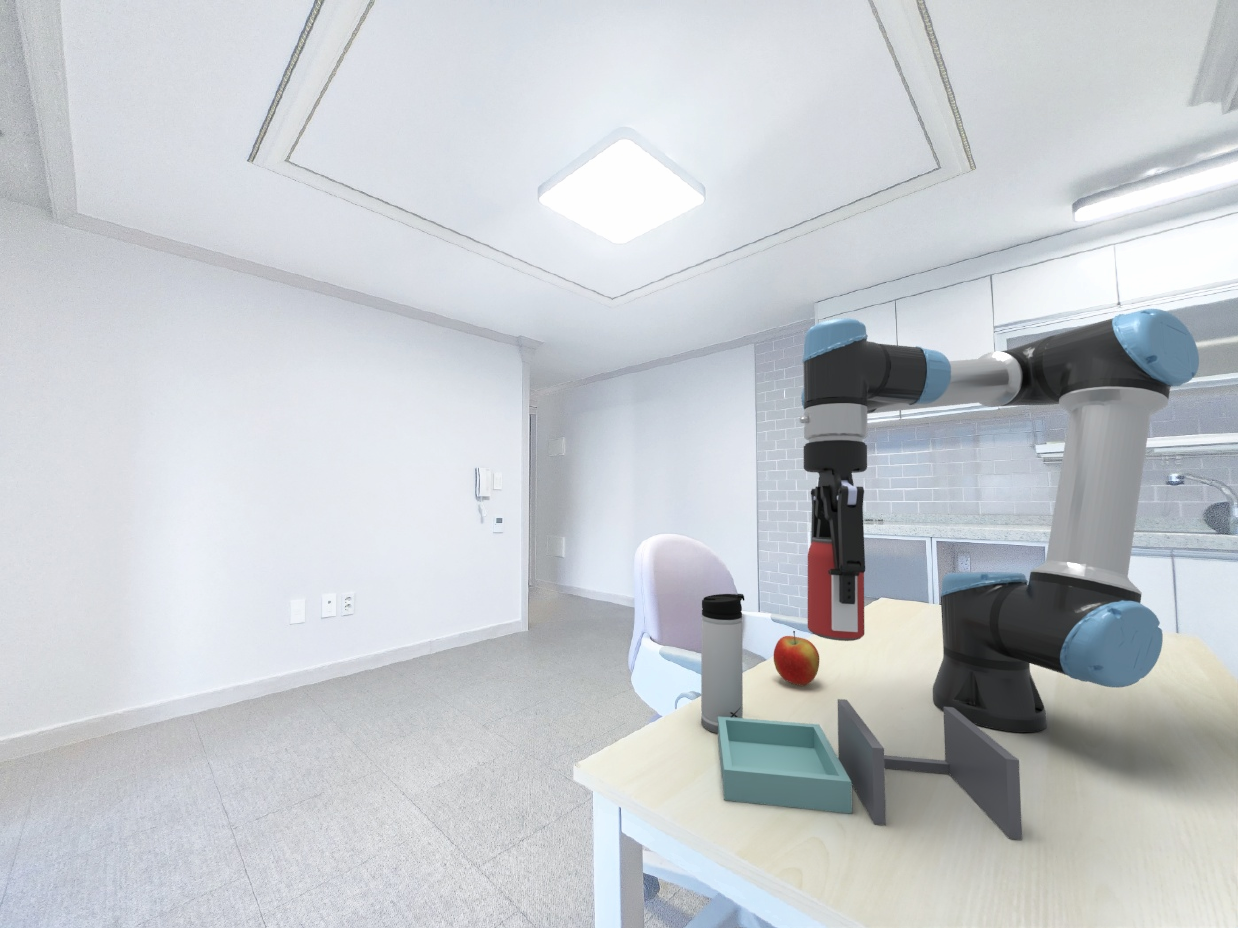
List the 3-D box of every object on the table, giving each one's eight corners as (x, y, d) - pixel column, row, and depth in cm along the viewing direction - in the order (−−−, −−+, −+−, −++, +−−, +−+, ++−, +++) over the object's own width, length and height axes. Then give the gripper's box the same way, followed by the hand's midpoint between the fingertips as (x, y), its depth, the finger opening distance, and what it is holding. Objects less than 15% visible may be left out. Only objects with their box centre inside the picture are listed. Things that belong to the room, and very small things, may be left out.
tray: (819, 749, 68) (819, 724, 68) (851, 813, 54) (851, 781, 55) (717, 740, 70) (718, 716, 70) (724, 799, 56) (724, 769, 57)
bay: (955, 770, 63) (953, 707, 64) (1022, 839, 50) (1018, 759, 51) (838, 760, 65) (837, 698, 66) (874, 824, 53) (872, 747, 53)
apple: (827, 684, 92) (827, 631, 93) (805, 695, 87) (805, 638, 87) (789, 672, 98) (788, 622, 99) (766, 682, 93) (765, 628, 94)
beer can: (798, 627, 64) (798, 536, 65) (845, 627, 65) (844, 537, 66) (824, 642, 58) (823, 540, 58) (876, 642, 58) (875, 541, 59)
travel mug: (746, 737, 71) (745, 599, 73) (700, 732, 73) (700, 596, 74) (743, 718, 77) (743, 591, 79) (701, 714, 79) (702, 589, 80)
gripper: (788, 449, 73) (787, 604, 71) (826, 430, 54) (826, 643, 52) (840, 449, 72) (841, 607, 70) (898, 431, 53) (901, 648, 51)
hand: (835, 622), depth 61 cm, fingers closed on beer can, 6 cm apart
